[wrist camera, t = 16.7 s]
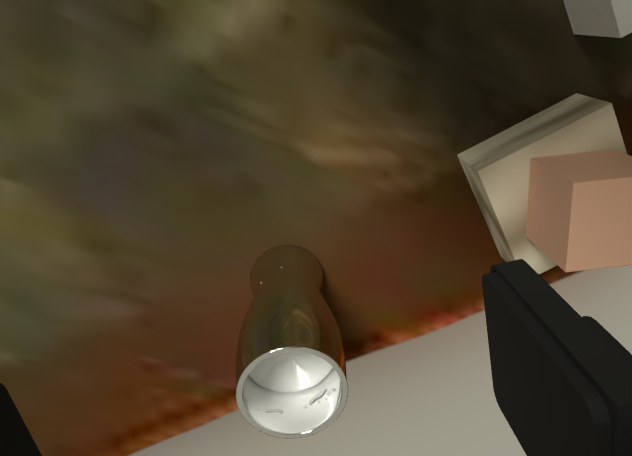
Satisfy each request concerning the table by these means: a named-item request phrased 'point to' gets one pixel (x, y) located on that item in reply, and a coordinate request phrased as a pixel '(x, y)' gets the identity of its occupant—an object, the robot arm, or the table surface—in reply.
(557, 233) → the terracotta block
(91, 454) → the table surface
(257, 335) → the beer glass
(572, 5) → the grey block
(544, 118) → the ash base block
